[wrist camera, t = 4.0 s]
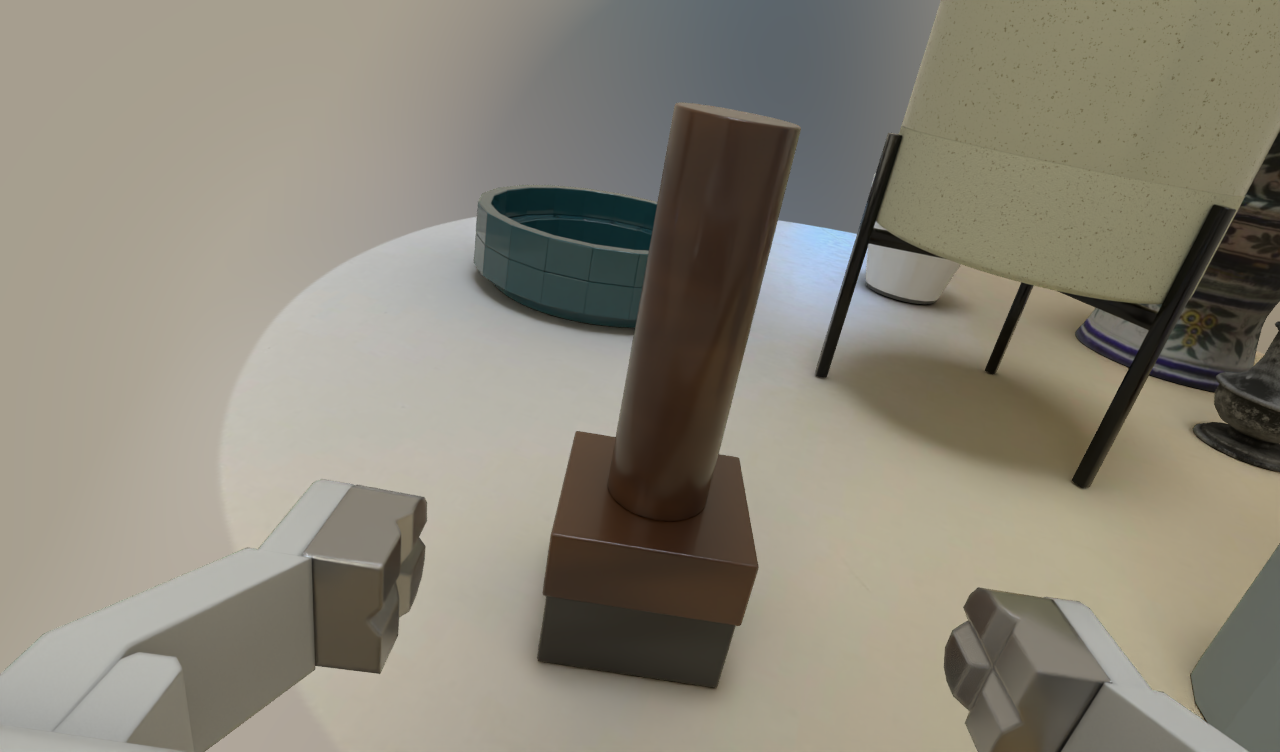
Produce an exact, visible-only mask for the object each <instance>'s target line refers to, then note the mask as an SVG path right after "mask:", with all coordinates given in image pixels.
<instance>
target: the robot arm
mask: <svg viewBox="0 0 1280 752" xmlns="http://www.w3.org/2000/svg"><path fill="white" fill-rule="evenodd" d="M426 522H427V501H426V499H425V498H424V497H421V496H416V495H410V494H405V493H399V492H394V491H389V490H383V489H378V488H372V487H367V486H361V485H353V484H349V483H343V482H337V481H331V480H326V479H320V480H318V481H315V482H314V483H312V484H311V486H310V487H309V488H308V489H307V491H306V492H305V493H304V494H303V495H302V497H301V498H300V499H299V500H298V501H297V503H296V504H295V505H294V506H293V507H292V509H291V510H290V511H289V512H288V513H287V515H286V516H285V517H284V518H283V519H282V521H281V522H280V523H279V524H278V525H277V527H276V528H275V529H274V530H273V531H272V533H271V534H270V535H269V536H268V538H267V539H266V540H265V541H264V542H263V544H262V545H261V546H260V547H259V548H258V549H254V548H245V549H242V550H240V551H238V552H235V553H233V554H230V555H228V556H226V557H223V558H221V559H219V560H216V561H214V562H212V563H209V564H207V565H204V566H202V567H200V568H197V569H195V570H193V571H190V572H188V573H186V574H183V575H181V576H179V577H176V578H174V579H172V580H169V581H167V582H164V583H162V584H160V585H157V586H155V587H153V588H150V589H148V590H146V591H143V592H141V593H138V594H136V595H134V596H132V597H129V598H127V599H124V600H122V601H120V602H117V603H115V604H113V605H110V606H108V607H105V608H103V609H101V610H98V611H96V612H94V613H92V614H89V615H87V616H84V617H82V618H79V619H77V620H75V621H73V622H70V623H68V624H65V625H63V626H61V627H58V628H56V629H54V630H51V631H49V632H46V633H44V634H43V635H42V636H41V637H40V638H39V639H37V640H36V641H35V642H34V643H33V644H32V645H31V646H30V647H29V648H28V649H27V650H26V651H24V652H23V653H22V654H21V655H20V656H19V657H18V658H17V659H16V660H15V661H14V662H13V663H12V664H10V665H9V666H8V667H7V668H6V669H5V670H4V671H3V672H2V673H1V674H0V752H205V751H206V750H208V749H209V748H210V747H212V746H213V745H214V744H216V743H217V742H218V741H220V740H221V739H222V738H224V737H225V736H226V735H228V734H229V733H230V732H232V731H233V730H234V729H236V728H237V727H239V726H240V725H241V724H242V723H244V722H245V721H247V720H248V719H249V718H251V717H252V716H253V715H254V714H256V713H257V712H258V711H260V710H261V709H263V708H264V707H265V706H267V705H268V704H269V703H271V702H272V701H273V700H275V699H276V698H277V697H279V696H280V695H282V694H283V693H284V692H285V691H287V690H288V689H290V688H291V687H292V686H293V685H295V684H296V683H298V682H299V681H300V680H302V679H303V678H304V677H306V676H307V675H308V674H310V673H311V672H312V671H314V670H315V666H322V667H330V668H338V669H346V670H354V671H362V672H370V673H379V674H380V673H381V671H382V669H383V667H384V665H385V662H386V660H387V658H388V656H389V654H390V652H391V650H392V647H393V645H394V643H395V641H396V639H397V637H398V627H399V617H401V616H402V615H404V614H406V613H407V612H409V611H410V609H411V606H412V604H413V602H414V599H415V597H416V594H417V591H418V588H419V584H420V581H421V577H422V572H423V566H424V560H425V545H424V543H423V542H422V541H421V539H420V538H419V536H420V534H421V532H422V530H423V528H424V526H425V524H426ZM963 608H964V611H965V613H966V616H967V619H968V621H966V622H965V623H963V624H962V625H960V626H958V627H957V628H955V629H954V630H952V633H951V635H950V637H949V640H948V642H947V644H946V647H945V657H944V669H945V675H946V680H947V683H948V685H949V688H950V690H951V692H952V695H953V696H954V697H955V698H956V699H957V700H958V701H959V702H960V703H961V704H962V705H963V706H964V707H966V708H967V709H968V710H969V713H968V716H967V719H966V721H965V724H966V726H967V729H968V731H969V733H970V735H971V738H972V740H973V742H974V744H975V746H976V749H977V751H978V752H1249V751H1247V750H1246V749H1244V748H1243V747H1242V746H1240V745H1239V744H1237V743H1236V742H1234V741H1233V740H1232V739H1230V738H1229V737H1227V736H1226V735H1224V734H1223V733H1221V732H1220V731H1219V730H1217V729H1216V728H1214V727H1213V726H1211V725H1210V724H1208V723H1207V722H1206V721H1204V720H1203V719H1201V718H1200V717H1198V716H1197V715H1195V714H1194V713H1193V712H1191V711H1190V710H1188V709H1187V708H1185V707H1184V706H1183V705H1181V704H1180V703H1178V702H1177V701H1175V700H1174V699H1172V698H1171V697H1170V696H1168V695H1167V694H1165V693H1164V692H1160V691H1154V690H1152V689H1151V688H1150V686H1149V685H1148V684H1147V683H1146V681H1145V680H1144V679H1143V677H1142V676H1141V675H1140V673H1139V672H1138V671H1137V669H1136V668H1135V667H1134V666H1133V664H1132V663H1131V662H1130V660H1129V659H1128V658H1127V656H1126V655H1125V654H1124V652H1123V651H1122V650H1121V649H1120V647H1119V646H1118V645H1117V643H1116V642H1115V641H1114V639H1113V638H1112V637H1111V636H1110V634H1109V633H1108V632H1107V630H1106V629H1105V628H1104V626H1103V625H1102V624H1101V622H1100V621H1099V620H1098V619H1097V617H1096V616H1095V615H1094V613H1093V612H1092V611H1091V609H1090V608H1089V607H1087V606H1085V605H1084V604H1082V603H1081V602H1079V601H1073V600H1065V599H1058V598H1050V597H1044V598H1042V597H1035V596H1029V595H1023V594H1016V593H1010V592H1004V591H997V590H991V589H985V588H977V589H976V590H975V591H974V592H972V593H971V594H970V595H969V597H968V599H967V601H966V603H965V605H964V607H963Z"/></svg>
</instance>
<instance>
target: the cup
mask: <svg viewBox="0 0 1280 752" xmlns="http://www.w3.org/2000/svg"><path fill="white" fill-rule="evenodd" d="M874 178H875V175H874ZM874 178H873V181H874ZM872 184H873V182H872ZM871 187H872V186H871ZM874 228H877V229H883V230H886V229H884V228H883V227H882V226H880V225H879V224H878V223H877V222H875V225H874ZM960 265H961V264H959V263H956V262H953V261H950V260H948V259H943V258H938V257H933V256H928V255H923V254H918V253H913V252H908V251H903V250H898V249H893V248H888V247H883V246H878V245H873V244H868V252H867V265H866V278H865V279H866V284H867V286H868V287H869V288H871V289H872V290H873V291H875V292H877V293H880V294H882V295H884V296H887V297H890V298H893V299H896V300H899V301H904V302H908V303H915V304H933V303H934V302H935V301H936V300H937V299H938V298H939V297H940V295H941V294H942V292H943V291H944V289H945V288H946V286H947V285H948V283H949V282H950V280H951V279H952V277H953V276H954V274H955V273H956V271H957V270H958V268H959V267H960Z"/></svg>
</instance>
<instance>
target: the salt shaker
mask: <svg viewBox="0 0 1280 752" xmlns="http://www.w3.org/2000/svg"><path fill="white" fill-rule="evenodd" d="M1275 325H1276V327H1277V328H1278V330H1279V332H1278V334H1277V335H1276V337H1275V338H1274V340H1273V342H1272V343H1271V345H1270V347H1269V348H1268V350H1267V352H1266V353H1265V355H1264V356H1263V358H1262V359H1261V360H1260V361H1259V362H1258V363H1257V364H1255V365H1254V366H1253V367H1252V368H1251V369H1250V370H1248V371H1244V372H1241V373H1231V372H1223V373H1219V374H1218V375H1217V376H1216V379H1217V382H1218V383H1219V385H1218V387H1217V389H1216V391H1215V400H1214V405H1215V408H1216V410H1217V412H1218V414H1219V416H1220V418H1221V419H1222V420H1223V421H1225V422H1226V423H1228V424H1225V423H1218V422H1210V423H1201V424H1196V425H1195V426H1194V428H1193V431H1194V433H1195V434H1196V435H1197V436H1198V437H1199V438H1200V439H1201V440H1203V441H1204V442H1205V443H1207V444H1209V445H1210V446H1212V447H1214V448H1215V449H1217V450H1219V451H1221V452H1223V453H1225V454H1227V455H1230V456H1232V457H1234V458H1237V459H1239V460H1242V461H1244V462H1247V463H1250V464H1253V465H1256V466H1258V467H1262V468H1266V469H1269V470H1273V471H1279V472H1280V322H1276V324H1275Z"/></svg>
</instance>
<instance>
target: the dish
mask: <svg viewBox="0 0 1280 752" xmlns="http://www.w3.org/2000/svg"><path fill="white" fill-rule="evenodd" d="M656 208H657V202H655V201H650V200H647V199H642V198H637V197H633V196H628V195H624V194H619V193H618V194H617V193H612V192H606V191H599V190H593V189H586V188H576V187H565V186H553V185H552V186H551V185H519V186H510V187H502V188H496V189H493V190H491V191H488V192H485V193H483V194H482V195H481V197H480V199H479V202H478V209H477V223H476V237H475V251H474V264H475V265H476V267H477V268H478V270H479V271H480V273H481V274H482V276H484V277H485V278H487V279H488V280H490V281H491V282H493V283H494V284H495V286H496V287H497V288H498V289H499V290H500V291H501V292H503V293H504V294H505V295H506V296H508V297H510V298H511V299H513V300H515V301H517V302H519V303H521V304H523V305H525V306H527V307H530V308H532V309H535V310H537V311H540V312H543V313H546V314H550V315H553V316H557V317H560V318H564V319H568V320H573V321H578V322H583V323H589V324H595V325H603V326H613V327H635V326H636V320H637V314H638V309H639V303H640V298H641V292H642V286H643V281H644V275H645V270H646V264H647V258H648V253H649V247H650V242H651V236H652V230H653V225H654V219H655V213H656Z"/></svg>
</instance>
